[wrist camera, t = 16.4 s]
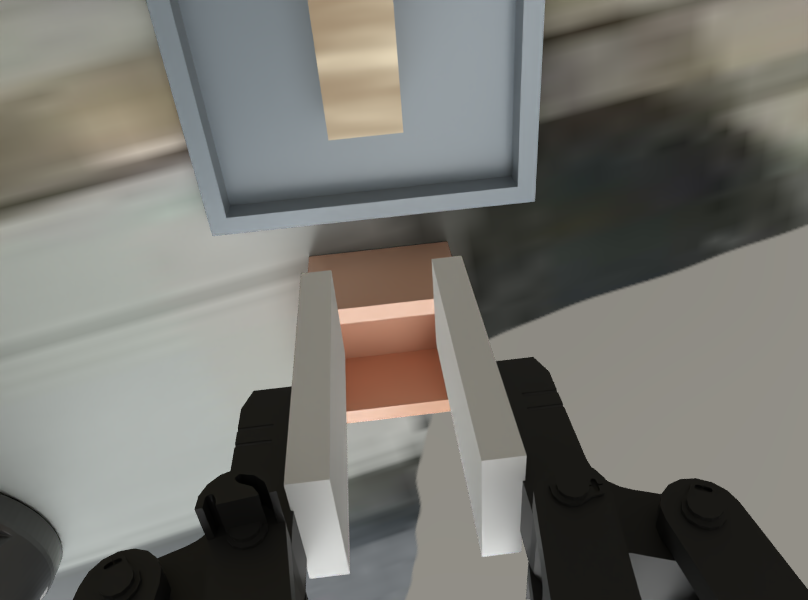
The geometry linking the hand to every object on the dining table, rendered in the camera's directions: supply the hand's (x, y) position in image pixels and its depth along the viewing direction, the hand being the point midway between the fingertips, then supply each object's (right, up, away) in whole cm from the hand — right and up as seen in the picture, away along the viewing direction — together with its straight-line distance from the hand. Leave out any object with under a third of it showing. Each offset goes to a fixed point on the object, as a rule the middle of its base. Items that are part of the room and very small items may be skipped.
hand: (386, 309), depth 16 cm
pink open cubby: (-1, 0, +25) cm, 25 cm away
